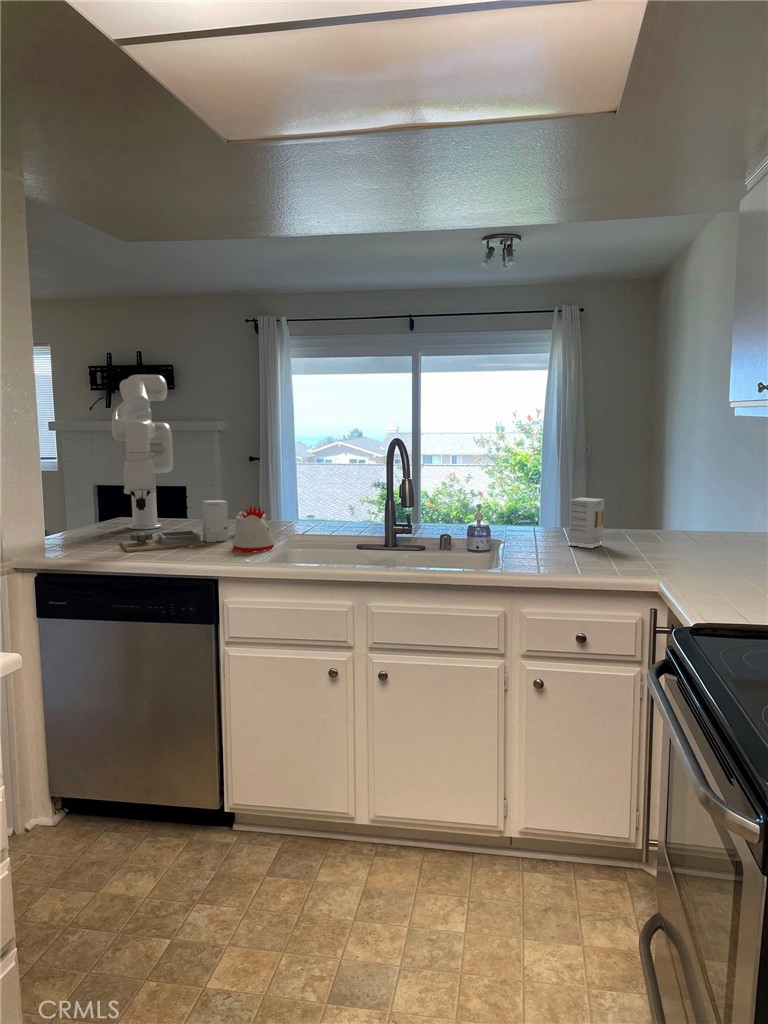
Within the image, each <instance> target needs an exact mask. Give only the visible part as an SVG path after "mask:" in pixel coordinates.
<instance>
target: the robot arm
mask: <svg viewBox="0 0 768 1024" xmlns="http://www.w3.org/2000/svg"><path fill="white" fill-rule="evenodd" d="M119 391H120V395H121V397H122V400H123V401H122V402H121V403H120V404H119V405H118V406H116V408H115V409H114V411H113V413H112V417H111V434H112V437H113V438H114V439H115V441H116V440H117V441H119V442H122V441H123V442H124V441H125V444H126V445H125V446H126V460H125V461H124V464H123V487H124V488H123V493H124V494H125V495H131V510H132V511H131V512H132V516H131V517H132V523H130V524H129V525H128V528H129V529H132V530H152V529H153V530H154V529H158V528H161V527H162V523H161V522H158V511H157V507H158V506H157V505H158V504H157V487H156V483H157V482H156V474H162V473H163V474H164V473H165V474H167V473H171V471H173V467H174V456H173V455H174V453H173V436H172V435H173V434H172V430H171V429H172V428H171V426H170V425H169V424H168V423H167V422H160V421H159V422H158V421H157V422H153V421H152V408H150V407H151V402H163V401H165V400H166V398H167V395H168V385H167V380H166V379H165V378H164V377H163V376H162V375H160V374H133V375H130V376H128V377H127V378H125V379H123V380H121V382H119ZM151 447H159V448H160V449H151Z"/></svg>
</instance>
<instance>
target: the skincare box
mask: <svg viewBox="0 0 768 1024" xmlns="http://www.w3.org/2000/svg"><path fill="white" fill-rule="evenodd" d="M228 511H229V510H228V501H227V500H221V499H220V500H219V499H216V500H213V499H212V500H202V502H201V512H202V515H201V516H202V517H201V518H202V519H201V521H202V523H201V525H202V528H201V529H202V541H204V542H205V541H206V542H205V543H217V542H216V541H219V542H227V541H228V540H229V538H228V534H229V533H228V532H229V531H228V525H229V524H228V523H229V522H228V521H229V520H228V517H229V515H228V514H229V512H228Z"/></svg>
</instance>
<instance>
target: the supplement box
mask: <svg viewBox="0 0 768 1024" xmlns="http://www.w3.org/2000/svg"><path fill="white" fill-rule="evenodd" d="M569 501H570V502H569V519H568V520H569V525H568V543H569V542H575V543H584V544H595V543H598V542H600V541H602V542H603V535H604V534H603V533H604V519H605V518H604V516H605V515H604V514H605V499H604V498H592V497H577V498H572V499H570V500H569Z"/></svg>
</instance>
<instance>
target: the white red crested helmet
mask: <svg viewBox="0 0 768 1024" xmlns="http://www.w3.org/2000/svg"><path fill="white" fill-rule="evenodd" d="M257 511H258V512H257ZM241 512H242V515H243V517H244V519H243V520H242V522H241V523H240V524H239V526H238V528H237V530H236V529H235V534H234V538H233V541H232V549H234V550H233V551H235V550H236V551H235V552H238V551H242V552H241V553H254V552H253V551H263V550H269V549H272V548H273V547H274V548H275V544H274V538H273V534H272V531H271V528H270V527H269V525H268V524H267V521H266V522H265V521H264V520H263V519H262V516H263V514H265V512H266V510H265V509H264V510H262V506H258V509H257V508H256V505H253V507H252V505H249V509H248V508H245V512H244V511H241ZM244 513H246V515H245V514H244ZM274 548H273V549H274ZM273 549H272V550H273ZM269 551H270V550H269Z"/></svg>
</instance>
